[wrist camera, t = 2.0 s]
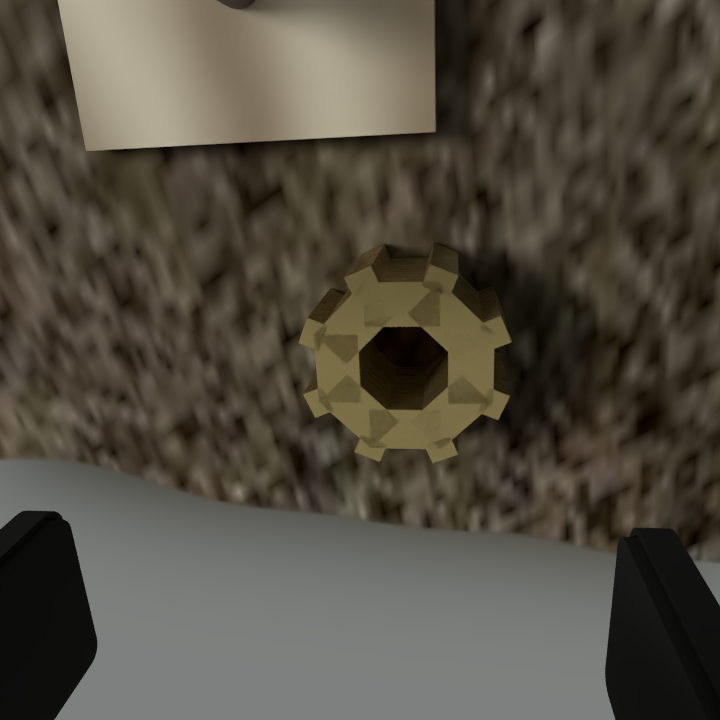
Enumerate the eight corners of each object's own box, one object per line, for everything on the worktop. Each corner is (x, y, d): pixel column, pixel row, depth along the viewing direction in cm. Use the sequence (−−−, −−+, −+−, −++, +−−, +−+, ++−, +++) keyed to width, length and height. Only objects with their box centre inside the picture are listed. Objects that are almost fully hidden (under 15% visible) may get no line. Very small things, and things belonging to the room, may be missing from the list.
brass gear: (503, 240, 22) (514, 262, 18) (499, 413, 24) (507, 464, 20) (318, 245, 23) (291, 267, 19) (330, 411, 25) (309, 459, 21)
